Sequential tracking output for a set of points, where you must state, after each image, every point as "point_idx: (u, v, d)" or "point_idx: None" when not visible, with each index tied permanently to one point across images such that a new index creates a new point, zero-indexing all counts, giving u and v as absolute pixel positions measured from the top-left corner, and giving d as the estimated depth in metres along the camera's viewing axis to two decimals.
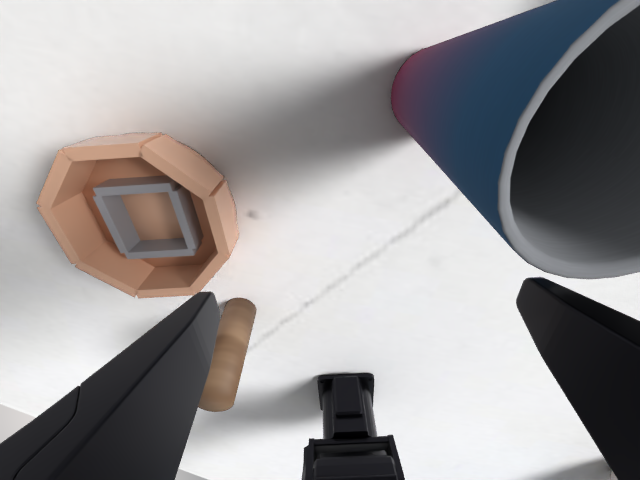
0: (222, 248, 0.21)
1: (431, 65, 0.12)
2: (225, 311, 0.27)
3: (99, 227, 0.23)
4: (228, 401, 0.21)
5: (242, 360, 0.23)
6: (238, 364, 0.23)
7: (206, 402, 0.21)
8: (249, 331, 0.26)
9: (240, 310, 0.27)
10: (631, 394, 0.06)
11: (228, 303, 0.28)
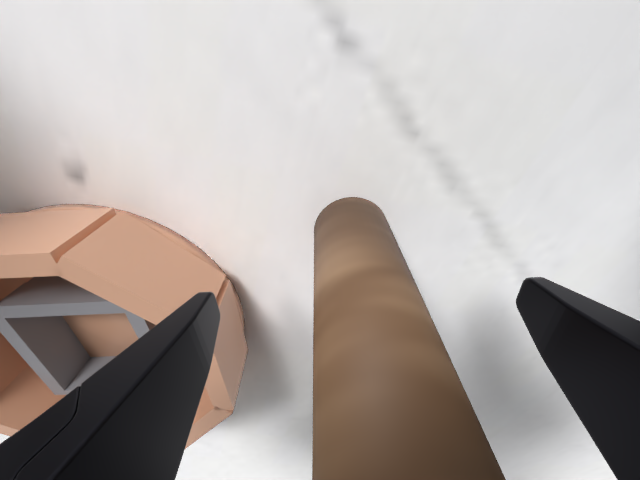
0: (37, 265, 0.08)
1: None
2: None
3: None
4: None
5: (374, 306, 0.06)
6: (359, 333, 0.06)
7: None
8: (355, 237, 0.09)
9: (316, 239, 0.10)
10: (631, 394, 0.06)
11: None
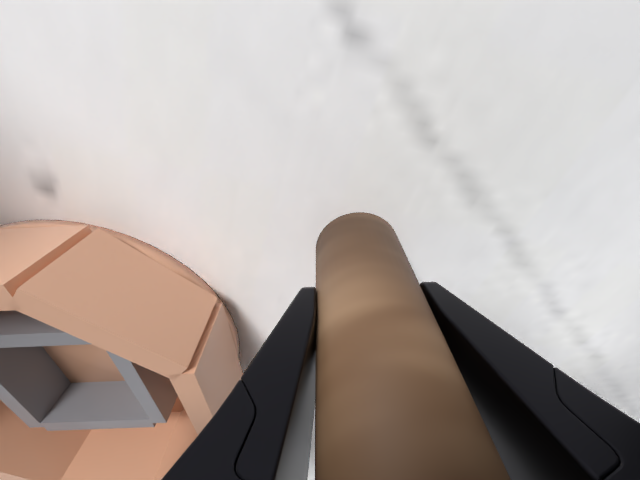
0: None
1: None
2: None
3: None
4: None
5: (392, 365, 0.05)
6: (375, 408, 0.04)
7: None
8: (365, 264, 0.07)
9: (319, 262, 0.09)
10: (478, 400, 0.06)
11: None
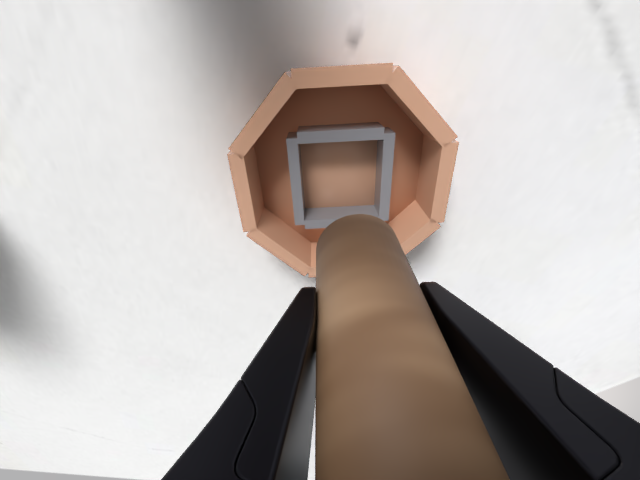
0: (379, 73, 0.13)
1: None
2: None
3: None
4: None
5: (393, 369, 0.05)
6: (376, 412, 0.04)
7: None
8: (365, 266, 0.07)
9: (319, 264, 0.09)
10: (479, 400, 0.06)
11: None
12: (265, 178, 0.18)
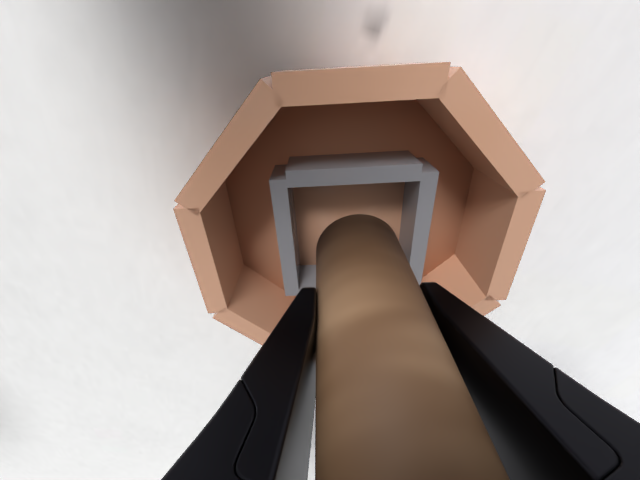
0: (426, 81, 0.07)
1: None
2: None
3: None
4: None
5: (393, 369, 0.05)
6: (376, 412, 0.04)
7: None
8: (365, 266, 0.07)
9: (319, 264, 0.09)
10: (479, 399, 0.06)
11: None
12: (243, 227, 0.13)
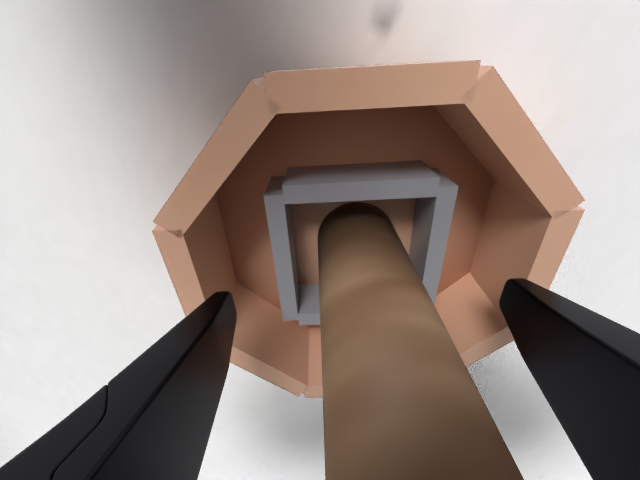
0: (450, 83, 0.06)
1: None
2: None
3: None
4: None
5: (389, 323, 0.06)
6: (375, 355, 0.05)
7: None
8: (364, 245, 0.08)
9: (321, 247, 0.10)
10: (605, 395, 0.06)
11: None
12: (236, 244, 0.12)
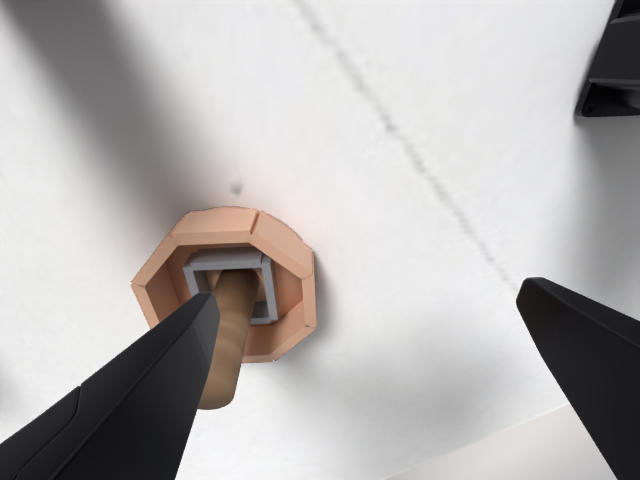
0: (241, 236, 0.17)
1: None
2: None
3: (258, 326, 0.25)
4: None
5: None
6: None
7: (211, 398, 0.15)
8: (224, 290, 0.19)
9: (214, 288, 0.21)
10: (631, 394, 0.06)
11: None
12: (177, 283, 0.22)
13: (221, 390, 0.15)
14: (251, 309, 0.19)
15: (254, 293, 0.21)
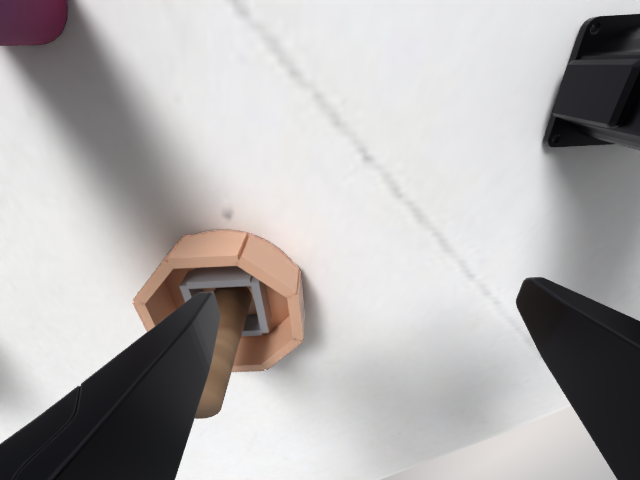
0: (229, 261, 0.19)
1: None
2: None
3: (252, 336, 0.27)
4: None
5: None
6: None
7: (202, 408, 0.17)
8: None
9: None
10: (631, 394, 0.06)
11: None
12: (176, 298, 0.24)
13: (209, 402, 0.16)
14: (241, 324, 0.21)
15: (245, 309, 0.22)
